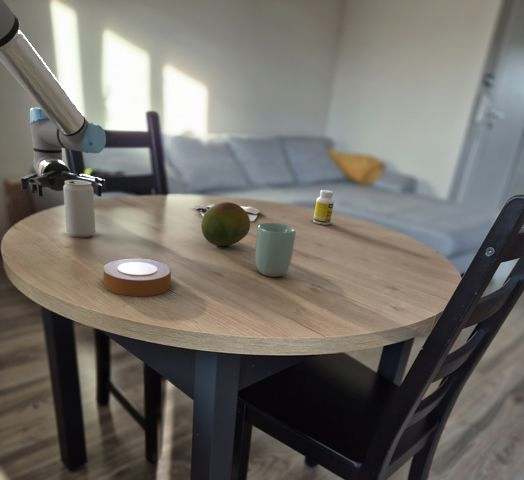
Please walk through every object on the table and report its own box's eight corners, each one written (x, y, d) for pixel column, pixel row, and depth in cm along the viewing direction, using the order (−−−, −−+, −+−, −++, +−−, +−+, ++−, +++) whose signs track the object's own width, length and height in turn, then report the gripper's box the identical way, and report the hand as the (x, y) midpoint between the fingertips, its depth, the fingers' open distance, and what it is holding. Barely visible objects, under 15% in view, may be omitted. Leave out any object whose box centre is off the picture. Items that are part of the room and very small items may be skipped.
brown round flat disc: (93, 291, 85) (92, 274, 83) (117, 269, 95) (117, 254, 94) (160, 300, 84) (160, 283, 83) (177, 277, 95) (177, 262, 93)
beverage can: (64, 231, 114) (60, 178, 109) (92, 230, 117) (89, 179, 112) (69, 238, 109) (65, 184, 104) (98, 237, 113) (95, 184, 107)
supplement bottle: (327, 226, 149) (332, 193, 145) (310, 222, 151) (315, 190, 146) (332, 223, 154) (337, 191, 149) (316, 219, 155) (321, 188, 151)
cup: (295, 279, 102) (302, 232, 97) (261, 280, 99) (267, 232, 94) (280, 267, 108) (285, 222, 103) (247, 268, 105) (252, 222, 100)
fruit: (249, 241, 124) (253, 201, 119) (245, 255, 113) (249, 212, 108) (205, 235, 124) (207, 196, 120) (196, 249, 113) (198, 205, 108)
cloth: (266, 212, 157) (267, 205, 156) (246, 225, 138) (247, 217, 137) (208, 202, 161) (209, 195, 160) (181, 214, 142) (181, 205, 141)
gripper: (102, 188, 140) (122, 205, 124) (6, 188, 128) (15, 206, 112) (101, 161, 136) (122, 175, 121) (2, 158, 124) (11, 173, 109)
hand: (70, 190), depth 116 cm, fingers open, 13 cm apart
